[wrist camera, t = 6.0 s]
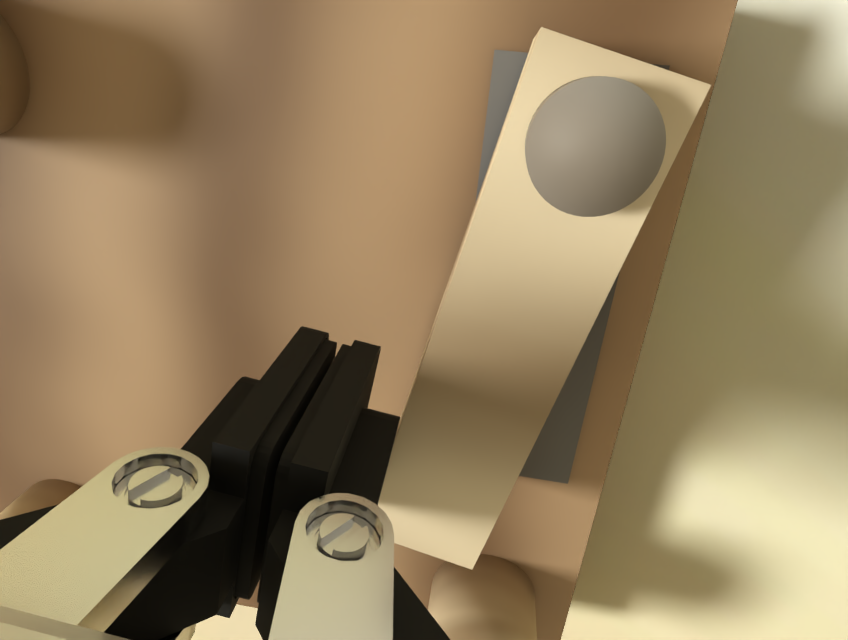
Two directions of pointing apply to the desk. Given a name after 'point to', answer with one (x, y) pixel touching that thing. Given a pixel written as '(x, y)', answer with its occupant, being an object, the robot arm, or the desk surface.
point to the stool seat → (295, 236)
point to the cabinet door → (530, 282)
